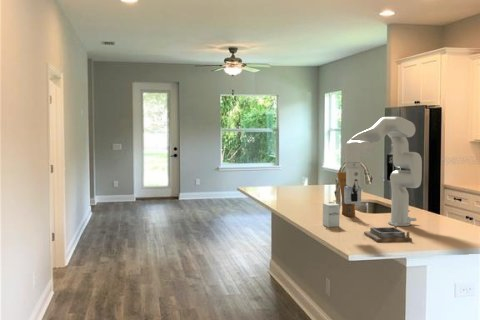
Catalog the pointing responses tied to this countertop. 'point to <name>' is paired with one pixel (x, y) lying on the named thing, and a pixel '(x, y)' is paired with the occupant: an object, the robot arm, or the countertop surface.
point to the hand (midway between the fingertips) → (352, 200)
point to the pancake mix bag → (346, 208)
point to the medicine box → (348, 195)
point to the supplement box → (331, 214)
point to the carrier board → (387, 234)
